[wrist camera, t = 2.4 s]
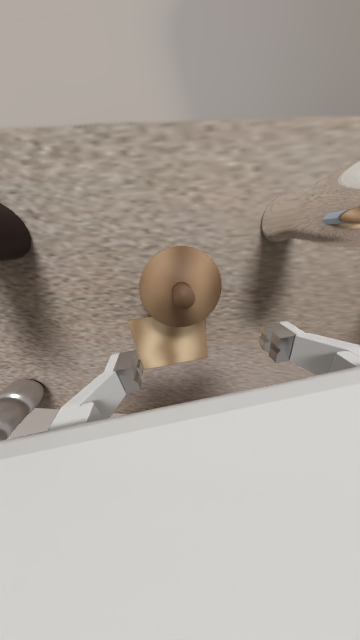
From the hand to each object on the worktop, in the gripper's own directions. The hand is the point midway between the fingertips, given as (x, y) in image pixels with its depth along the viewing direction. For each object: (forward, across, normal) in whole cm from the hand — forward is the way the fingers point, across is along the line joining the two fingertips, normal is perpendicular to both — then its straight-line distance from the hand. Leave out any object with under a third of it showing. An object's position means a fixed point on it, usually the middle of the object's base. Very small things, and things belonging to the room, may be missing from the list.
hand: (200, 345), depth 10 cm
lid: (+13, 0, 0) cm, 13 cm away
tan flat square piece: (+18, +3, +11) cm, 21 cm away
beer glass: (+18, -17, -7) cm, 26 cm away
